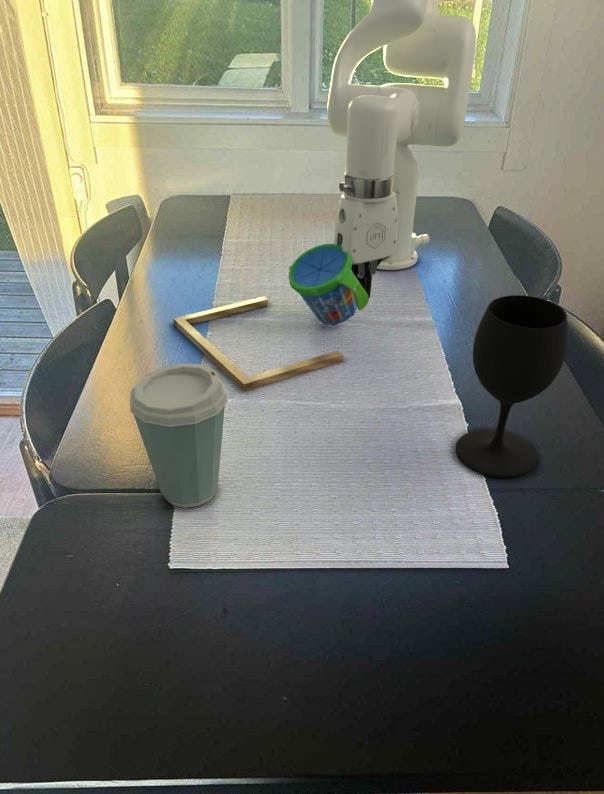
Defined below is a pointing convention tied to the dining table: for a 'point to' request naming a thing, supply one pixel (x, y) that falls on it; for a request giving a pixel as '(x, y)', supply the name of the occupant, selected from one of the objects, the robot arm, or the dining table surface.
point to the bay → (227, 366)
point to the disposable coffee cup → (182, 429)
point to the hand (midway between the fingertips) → (360, 296)
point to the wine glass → (513, 376)
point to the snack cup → (328, 283)
